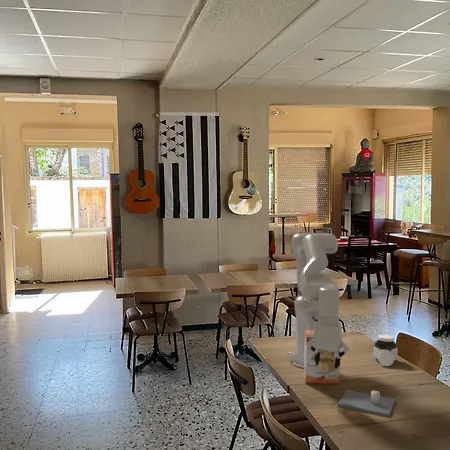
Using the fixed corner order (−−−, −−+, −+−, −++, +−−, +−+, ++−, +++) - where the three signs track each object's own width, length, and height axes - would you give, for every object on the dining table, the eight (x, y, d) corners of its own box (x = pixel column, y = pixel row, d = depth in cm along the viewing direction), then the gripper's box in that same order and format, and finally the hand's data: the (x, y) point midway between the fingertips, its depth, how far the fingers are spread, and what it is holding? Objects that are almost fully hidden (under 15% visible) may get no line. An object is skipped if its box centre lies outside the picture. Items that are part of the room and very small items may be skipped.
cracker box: (305, 384, 194) (306, 334, 193) (303, 378, 200) (303, 329, 199) (340, 384, 194) (340, 334, 192) (336, 378, 200) (337, 329, 198)
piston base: (337, 406, 174) (338, 393, 173) (347, 392, 186) (347, 379, 186) (389, 417, 165) (389, 403, 165) (395, 401, 177) (395, 388, 177)
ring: (316, 369, 178) (316, 362, 178) (321, 363, 184) (321, 356, 184) (333, 373, 175) (333, 365, 175) (338, 366, 181) (338, 359, 180)
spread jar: (389, 357, 226) (389, 333, 226) (405, 365, 216) (405, 340, 215) (367, 360, 223) (368, 335, 222) (382, 368, 212) (383, 342, 211)
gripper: (302, 319, 178) (302, 365, 180) (349, 325, 170) (348, 373, 172) (309, 314, 185) (308, 358, 187) (354, 320, 177) (352, 366, 179)
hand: (327, 365), depth 179 cm, fingers closed on ring, 6 cm apart
